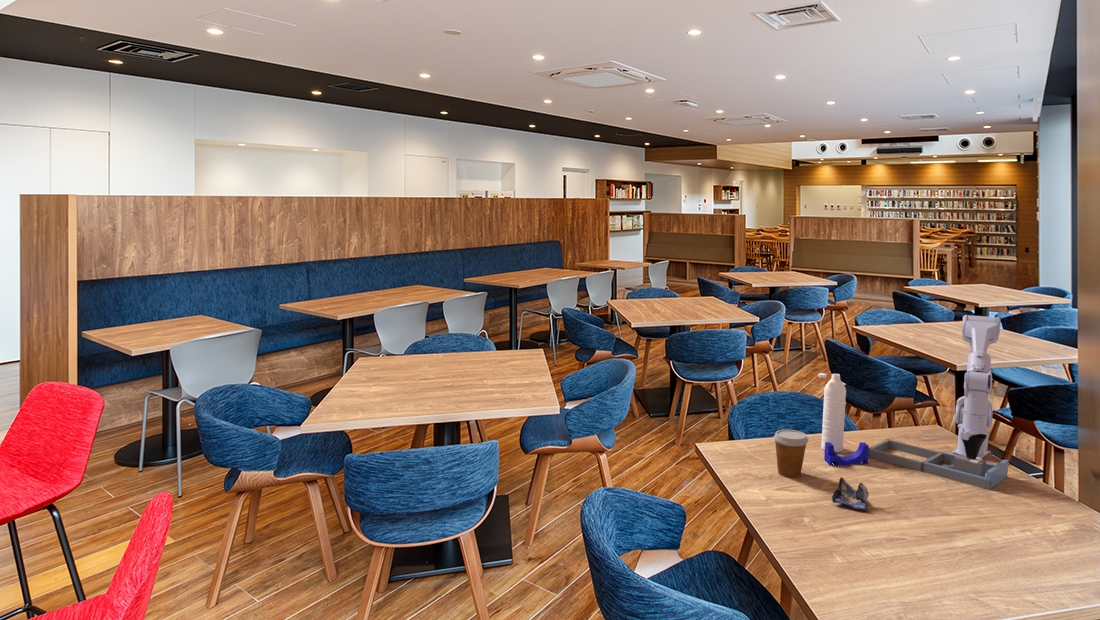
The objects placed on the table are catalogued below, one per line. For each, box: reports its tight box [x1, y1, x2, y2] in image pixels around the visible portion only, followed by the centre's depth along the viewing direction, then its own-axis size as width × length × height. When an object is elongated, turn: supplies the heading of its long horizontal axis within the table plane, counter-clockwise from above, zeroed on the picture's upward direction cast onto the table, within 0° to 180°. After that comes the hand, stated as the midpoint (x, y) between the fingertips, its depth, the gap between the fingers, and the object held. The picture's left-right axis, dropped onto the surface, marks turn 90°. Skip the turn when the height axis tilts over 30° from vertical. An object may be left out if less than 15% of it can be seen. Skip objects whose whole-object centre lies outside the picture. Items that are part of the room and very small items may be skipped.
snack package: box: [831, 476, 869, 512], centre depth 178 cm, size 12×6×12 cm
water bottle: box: [817, 372, 847, 453], centre depth 216 cm, size 9×6×25 cm
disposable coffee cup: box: [773, 429, 809, 478], centre depth 197 cm, size 10×10×12 cm
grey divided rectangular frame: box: [868, 438, 1009, 490], centre depth 202 cm, size 14×34×5 cm, turn 39°
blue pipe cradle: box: [823, 442, 870, 467], centre depth 205 cm, size 12×4×6 cm, turn 88°
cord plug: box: [941, 454, 987, 478], centre depth 196 cm, size 4×11×5 cm, turn 39°
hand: (971, 458), depth 194 cm, fingers closed
